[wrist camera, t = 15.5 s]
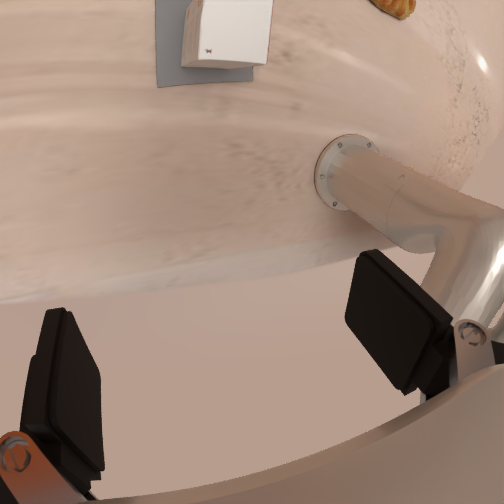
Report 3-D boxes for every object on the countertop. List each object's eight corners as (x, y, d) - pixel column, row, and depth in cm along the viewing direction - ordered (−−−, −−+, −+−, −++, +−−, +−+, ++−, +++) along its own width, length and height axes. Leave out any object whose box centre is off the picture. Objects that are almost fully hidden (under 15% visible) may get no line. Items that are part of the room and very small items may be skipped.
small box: (230, 69, 36) (268, 66, 25) (180, 67, 34) (196, 61, 23) (236, 11, 32) (276, -13, 21) (185, 7, 30) (205, -24, 19)
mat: (250, -3, 32) (252, -4, 31) (251, 81, 38) (253, 81, 37) (155, -1, 29) (155, -2, 28) (157, 87, 35) (157, 87, 34)
